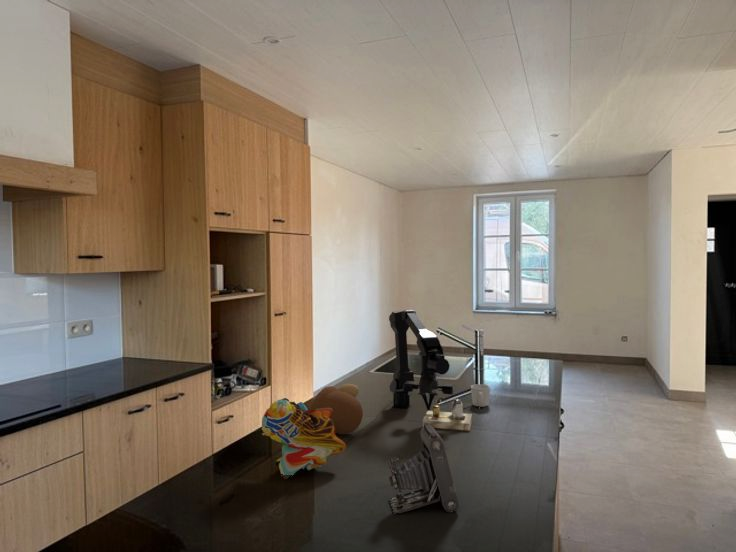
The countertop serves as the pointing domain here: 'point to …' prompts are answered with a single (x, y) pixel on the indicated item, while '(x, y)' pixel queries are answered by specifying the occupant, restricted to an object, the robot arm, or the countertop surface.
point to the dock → (448, 421)
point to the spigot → (457, 409)
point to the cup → (480, 395)
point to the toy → (340, 407)
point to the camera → (424, 476)
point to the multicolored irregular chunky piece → (301, 435)
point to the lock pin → (438, 412)
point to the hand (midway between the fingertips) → (428, 410)
